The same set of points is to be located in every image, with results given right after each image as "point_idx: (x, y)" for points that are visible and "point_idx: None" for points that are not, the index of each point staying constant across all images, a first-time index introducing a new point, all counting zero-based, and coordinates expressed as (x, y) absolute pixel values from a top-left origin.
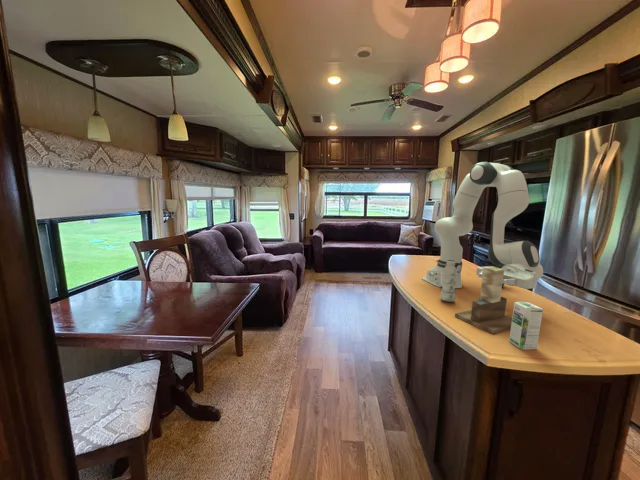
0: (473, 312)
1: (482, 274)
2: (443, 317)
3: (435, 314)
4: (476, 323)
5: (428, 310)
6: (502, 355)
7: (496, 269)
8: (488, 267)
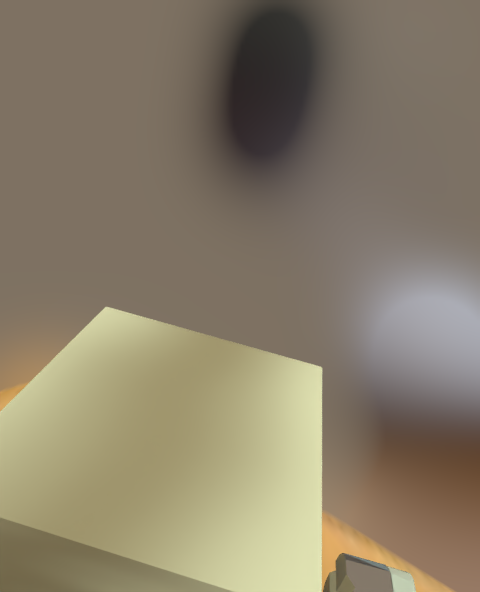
0: None
1: (340, 575)
2: (326, 553)
3: (375, 557)
4: None
5: (438, 583)
6: (6, 390)
7: (111, 368)
8: (280, 418)
